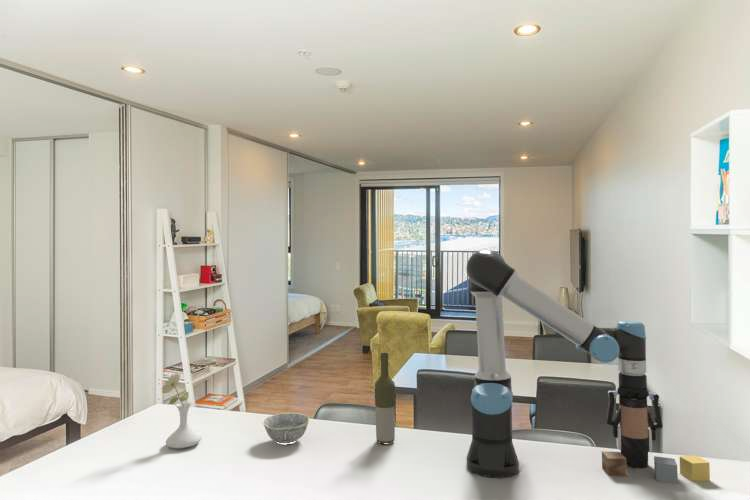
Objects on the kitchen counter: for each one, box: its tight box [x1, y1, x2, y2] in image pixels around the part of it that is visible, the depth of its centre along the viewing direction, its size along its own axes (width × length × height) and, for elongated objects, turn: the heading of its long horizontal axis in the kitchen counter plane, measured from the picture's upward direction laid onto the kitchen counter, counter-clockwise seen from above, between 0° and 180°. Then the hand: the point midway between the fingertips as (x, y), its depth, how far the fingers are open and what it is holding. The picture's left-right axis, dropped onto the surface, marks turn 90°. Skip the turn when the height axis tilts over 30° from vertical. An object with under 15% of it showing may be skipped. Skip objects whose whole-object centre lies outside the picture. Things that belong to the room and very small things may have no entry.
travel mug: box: [618, 395, 649, 469], centre depth 148 cm, size 8×8×20 cm
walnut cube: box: [601, 450, 628, 477], centre depth 142 cm, size 5×5×5 cm
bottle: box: [374, 352, 396, 444], centre depth 168 cm, size 7×7×30 cm
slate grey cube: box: [653, 455, 679, 485], centre depth 137 cm, size 5×5×5 cm
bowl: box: [262, 412, 311, 443], centre depth 169 cm, size 16×16×8 cm
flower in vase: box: [161, 372, 202, 449], centre depth 166 cm, size 13×11×25 cm
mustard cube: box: [679, 455, 711, 482], centre depth 138 cm, size 5×5×5 cm
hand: (634, 449), depth 148 cm, fingers closed on travel mug, 8 cm apart
